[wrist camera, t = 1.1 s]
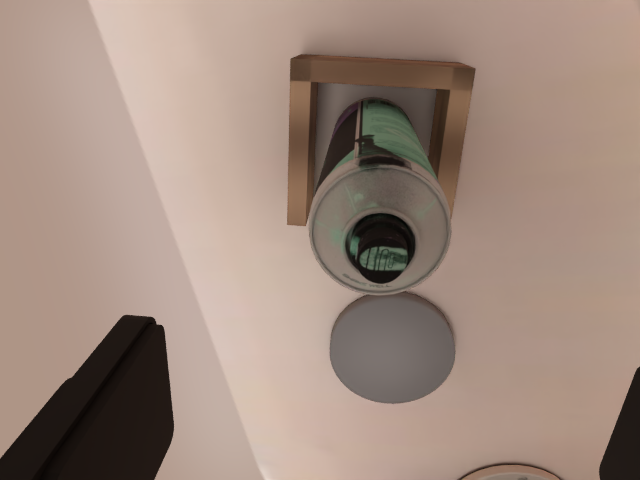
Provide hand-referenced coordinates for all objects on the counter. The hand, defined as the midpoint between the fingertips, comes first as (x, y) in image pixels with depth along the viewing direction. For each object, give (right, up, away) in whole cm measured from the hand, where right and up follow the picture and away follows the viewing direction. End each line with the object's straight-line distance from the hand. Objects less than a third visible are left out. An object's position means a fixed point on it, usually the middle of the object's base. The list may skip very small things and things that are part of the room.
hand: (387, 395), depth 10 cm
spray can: (+2, +10, +25) cm, 27 cm away
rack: (+2, +10, +24) cm, 27 cm away
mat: (+5, -5, +31) cm, 32 cm away
